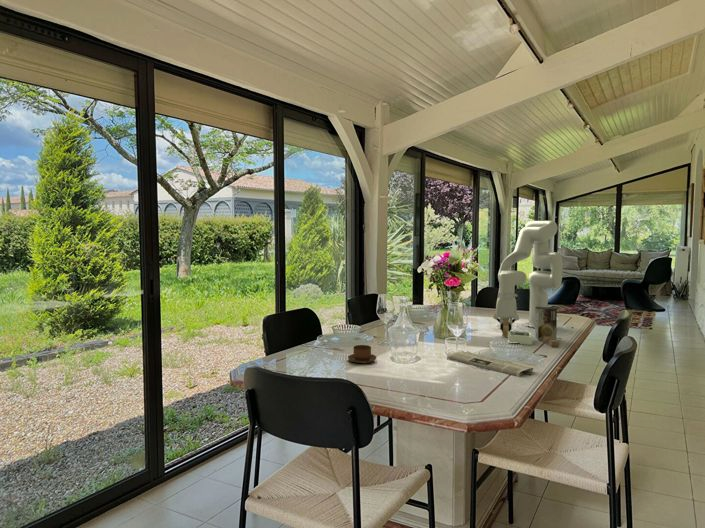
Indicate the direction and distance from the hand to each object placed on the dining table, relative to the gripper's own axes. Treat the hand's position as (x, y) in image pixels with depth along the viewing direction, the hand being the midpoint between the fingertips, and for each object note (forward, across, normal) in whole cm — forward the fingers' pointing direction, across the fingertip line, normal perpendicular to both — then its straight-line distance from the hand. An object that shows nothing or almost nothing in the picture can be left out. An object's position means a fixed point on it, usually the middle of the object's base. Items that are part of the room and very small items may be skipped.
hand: (505, 330), depth 258 cm
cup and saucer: (+3, +61, +65) cm, 89 cm away
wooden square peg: (+3, 0, 0) cm, 3 cm away
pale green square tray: (+3, -6, +11) cm, 13 cm away
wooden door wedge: (+3, -20, +13) cm, 24 cm away
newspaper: (+3, +8, +57) cm, 58 cm away
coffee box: (+3, -19, +2) cm, 19 cm away
